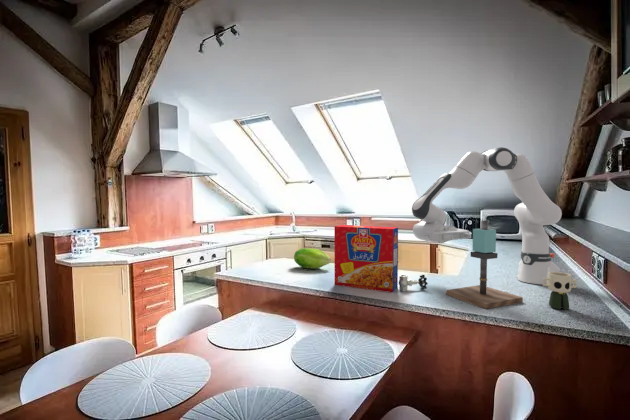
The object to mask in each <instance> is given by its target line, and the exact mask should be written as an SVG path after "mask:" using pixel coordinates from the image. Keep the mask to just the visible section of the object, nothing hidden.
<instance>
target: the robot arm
mask: <svg viewBox="0 0 630 420" xmlns="http://www.w3.org/2000/svg"><path fill="white" fill-rule="evenodd" d="M482 171H485V172H498V171H499V172H500V171H503V172H504V173H505V174H506V176H507V178H508V181H509V183H510V186H511V189H512V191H513V193H514V195H515V197H517V198H518V199H519V200H520V201H521V202H520V203H518V204H516V205H515V207H514V210H513V215H514V217H515V219H516V220H517V222H518V224H519V228H520V231H521V232H520V233H521V238H522V239H521V241H522V242H521V244H522V245H521V248H522V249H521V252H520V259H521V260H520V261H519V263H518V271H517V274H516V275H515V278H516V279H517V280H518V281H520V282H523V283H528V284H533V285H542V286H543V278H548V273H549V272H561V269H560V268H559V267H558V266H557V265H556V264H555V263H554V262H553V261H552V259H554V258H555V257H556V255H555V253H551V252H550V237H549V235H548V233H547V232H546V230H545V227H544V226H551V225H554V224H557V223H558V222H559V221H560V220H561V219H562V215H563V213H562V212H563V211H562V209H561V208H560V206H559V205H557V204H556V203H554V202H553V201H552V200H551V199H550V197H548V195H547V194H546V192H545V191H544V190H543V187H541V185H540V183H539V180H538V178H537V175H536V173H535V170H534V167H533V166H532V165H531V163H530V161H529V159H528V158H527V157H526V155H525V154H523V153H514V152H513V151H512V150H510V149H509V148H506V147H495V148H493V147H492V148H490V149H487V150H483V152H478V151H476V150H475V151H474V150H470V151H468V152H466V154H465V155H463V157H462V158H461V159H460V160H459V161H458V162H457V164H456V165H455V166H454V168H453V169H452V170H450V171H449V172H448V173H447V172H446V173H443V174H442V175H440V176H439V177H438V179H436V180H435V181H434V182H433V184H432V185H431V186H430V187H429V188H428V189H427V190H426V191H425V192H424V193H423V194H422V195H421V196H420V197H418V199H416V200H415V201H414V202H413V204H412V206H411V213H412V216H414V218H417V219H418V220H421V221H419V222H418V223H415V224H414V225H413V227H412V233H413V236H414V237H415V238H417V239H419V240H421V241H425V242H432V243H436V244H444V243H446V242H451V241H454V240H455V241H456V240H468V239H472V234H471V233H470V231H469V230H468V229H463V228H457V227H456V226H453V225H451V226H450V225H449V226H448V225H446V222H447V213H446V211H444V210H443V209H442V208H440V207H438V206H436V204H434V203H433V202H434V200H435V199H436V198H437V197H438V196H439V195H440V194H441V193H442V192H443V191H444V190H445V189H456V190H464V189H467V188H469V187H470V186H471V185H472V184H473V183H474V181H475V180H476V179H477V177H479V174H480V173H481V172H482ZM546 284H548V280H546Z"/></svg>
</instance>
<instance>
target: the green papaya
mask: <svg viewBox="0 0 630 420" xmlns="http://www.w3.org/2000/svg"><path fill="white" fill-rule="evenodd" d="M293 259H294V263H296V264H297V265H298V266H299V267H301V268H302V269H310V270H315V269H320V268H322V267H325V266H327V265H329V264H331V261H332V257H330V255H328V254H327V253H325V251H323V250H320V249H318V248H306V247H305V248H303V247H301V248H299V249H298V250H296V251H295V252H294V255H293Z"/></svg>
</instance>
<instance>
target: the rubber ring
mask: <svg viewBox="0 0 630 420" xmlns="http://www.w3.org/2000/svg"><path fill="white" fill-rule="evenodd" d="M471 257H472V258H475V259H487V260H493V259H498V252H490V253H485V254H484V253H481V252H477V251H470V258H471Z"/></svg>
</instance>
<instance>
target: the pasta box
mask: <svg viewBox="0 0 630 420" xmlns="http://www.w3.org/2000/svg"><path fill="white" fill-rule="evenodd" d="M398 253H399V227H398V226H396V227H395V226H394V227H393V226H377V225H376V226H375V225H374V226H373V225H352V224H351V225H350V224H339V225H334V285H335V286H339V287H340V286H341V287H347V288H356V289H362V290H369V291H378V292H384V293H385V292H386V293H394V292H395V291H396V290H397V289H398V288H399V287H398V285H399V279H398V278H399V277H398V276H399V275H398V274H399V271H398V269H399V263H398V262H399V254H398Z"/></svg>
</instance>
